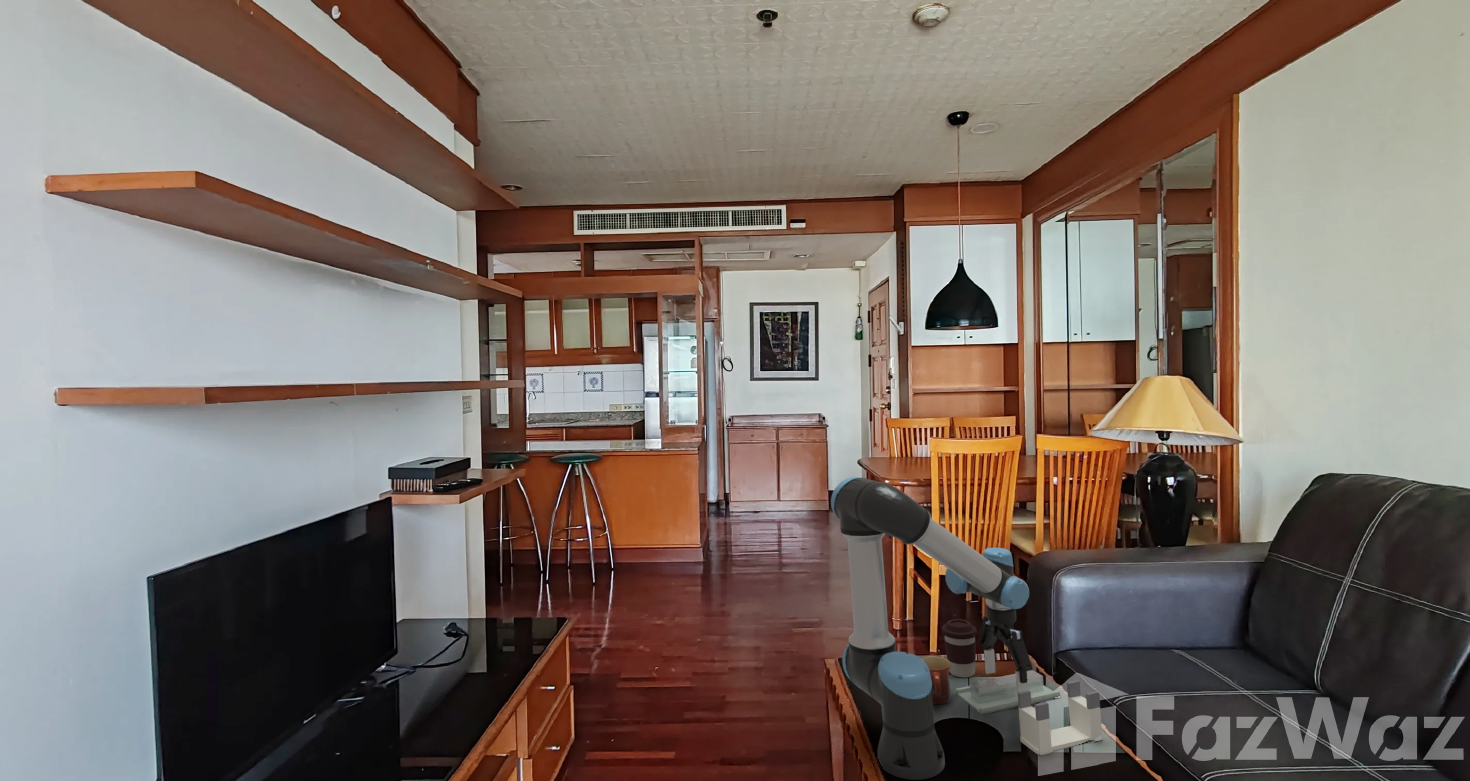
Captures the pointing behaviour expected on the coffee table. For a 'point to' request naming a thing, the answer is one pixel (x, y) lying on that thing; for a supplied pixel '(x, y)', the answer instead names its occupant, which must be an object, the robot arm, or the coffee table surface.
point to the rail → (1003, 687)
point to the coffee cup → (960, 646)
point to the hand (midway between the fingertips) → (1005, 682)
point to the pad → (1004, 700)
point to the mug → (939, 678)
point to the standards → (1045, 740)
